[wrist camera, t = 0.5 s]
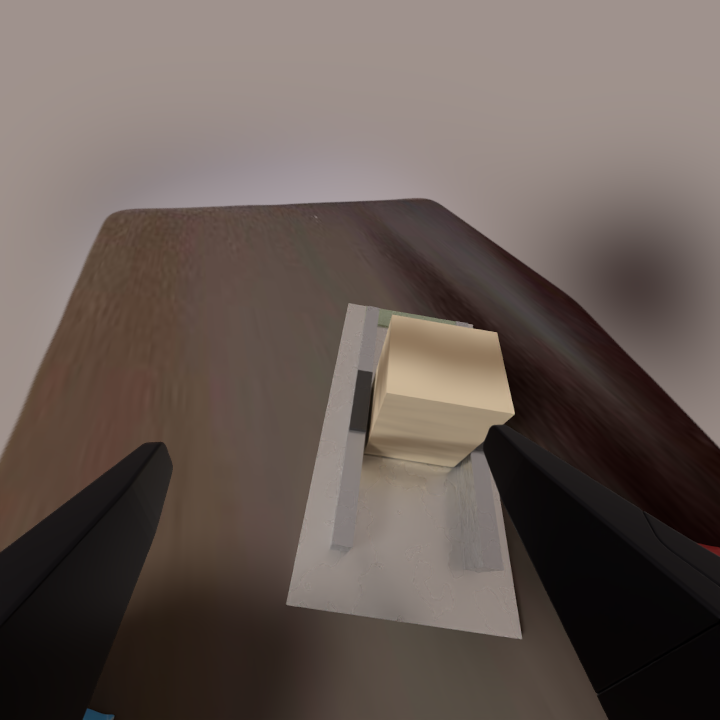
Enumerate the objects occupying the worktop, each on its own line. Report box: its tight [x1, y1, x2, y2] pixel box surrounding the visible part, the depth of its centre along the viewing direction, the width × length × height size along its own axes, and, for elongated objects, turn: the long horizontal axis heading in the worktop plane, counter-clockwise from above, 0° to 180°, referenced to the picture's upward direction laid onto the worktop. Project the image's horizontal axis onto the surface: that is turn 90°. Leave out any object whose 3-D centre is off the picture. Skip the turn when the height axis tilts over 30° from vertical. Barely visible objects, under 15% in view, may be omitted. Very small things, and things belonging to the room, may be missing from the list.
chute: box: [286, 303, 522, 639], centre depth 24 cm, size 26×14×4 cm, turn 173°
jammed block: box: [364, 315, 515, 467], centre depth 21 cm, size 6×7×9 cm
